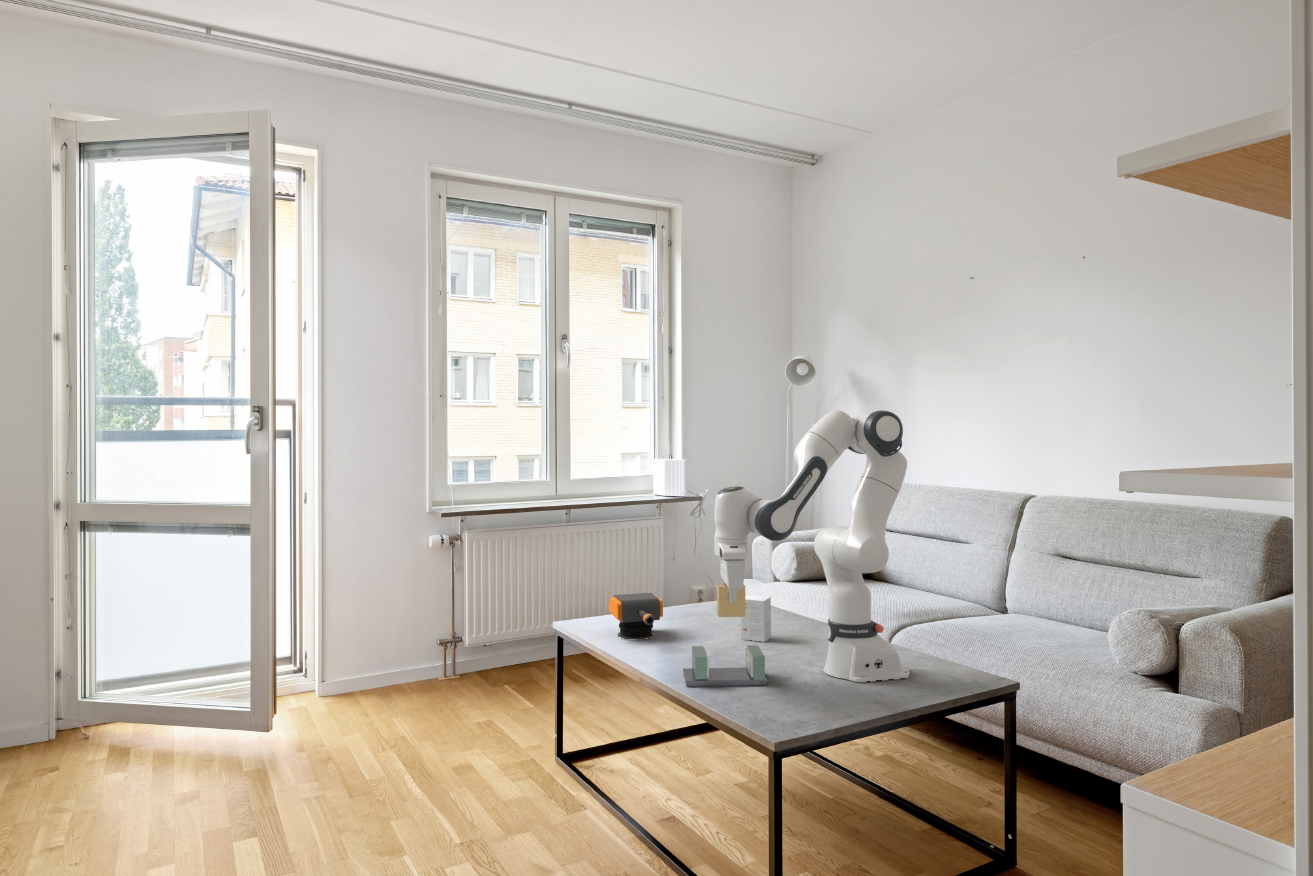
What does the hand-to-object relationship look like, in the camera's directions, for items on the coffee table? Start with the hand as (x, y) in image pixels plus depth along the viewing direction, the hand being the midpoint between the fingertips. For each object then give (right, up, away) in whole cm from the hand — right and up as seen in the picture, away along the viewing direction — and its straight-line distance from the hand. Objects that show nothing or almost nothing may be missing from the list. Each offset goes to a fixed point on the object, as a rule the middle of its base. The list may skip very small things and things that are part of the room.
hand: (731, 600), depth 220 cm
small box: (+12, -21, +42) cm, 48 cm away
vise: (-2, -21, 0) cm, 21 cm away
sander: (-25, -21, +43) cm, 54 cm away
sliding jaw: (-8, -19, 0) cm, 21 cm away
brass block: (0, -4, 0) cm, 4 cm away
